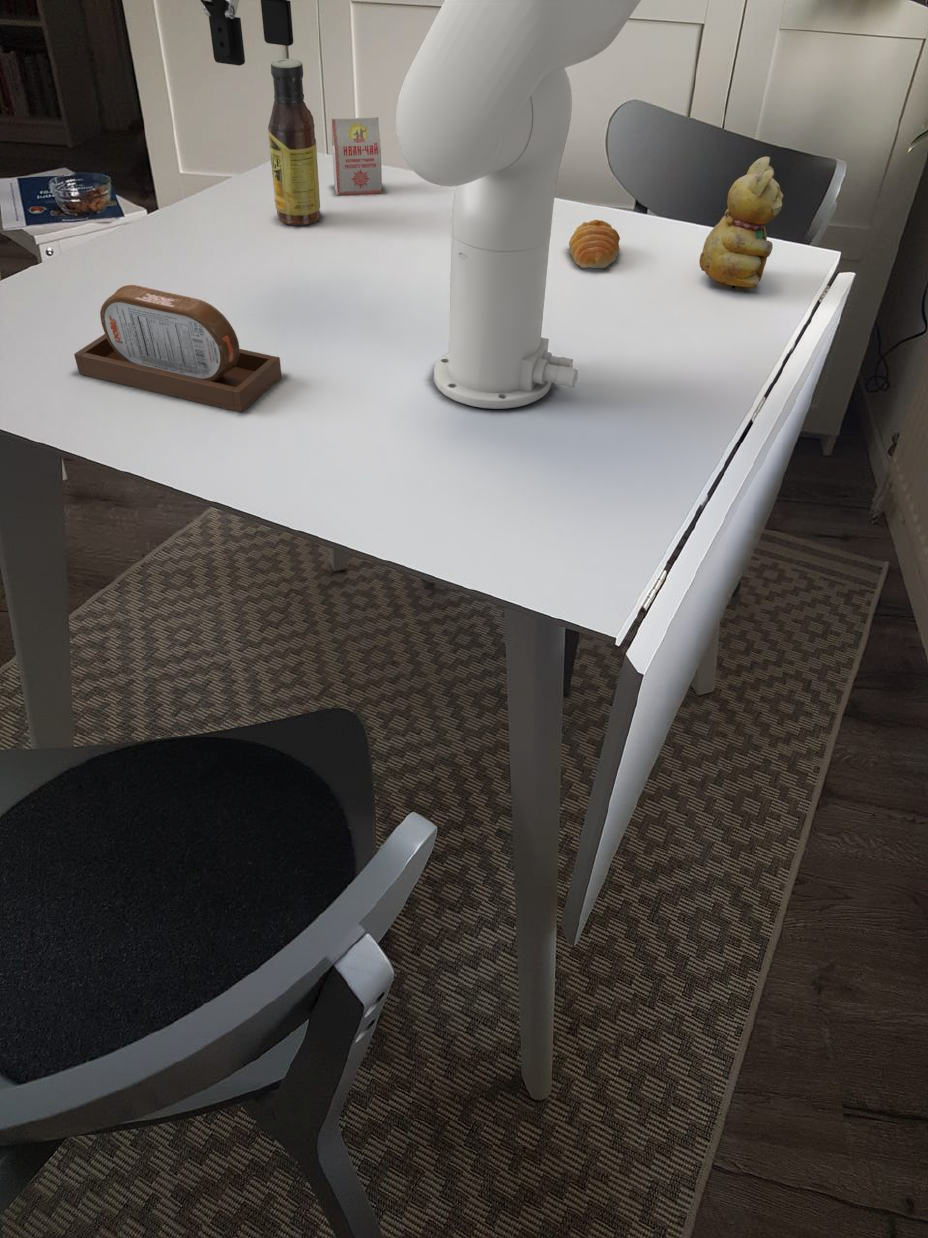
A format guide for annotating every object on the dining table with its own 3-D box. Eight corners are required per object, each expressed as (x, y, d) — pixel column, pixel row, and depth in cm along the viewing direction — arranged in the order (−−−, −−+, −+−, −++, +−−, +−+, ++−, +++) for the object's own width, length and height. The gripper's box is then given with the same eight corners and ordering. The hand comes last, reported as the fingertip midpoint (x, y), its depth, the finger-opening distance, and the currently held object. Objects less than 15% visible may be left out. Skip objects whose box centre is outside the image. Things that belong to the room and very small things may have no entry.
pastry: (619, 274, 124) (623, 245, 122) (567, 271, 125) (570, 242, 122) (617, 247, 131) (621, 218, 129) (568, 244, 131) (571, 216, 129)
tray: (282, 377, 101) (279, 357, 100) (242, 412, 95) (239, 392, 94) (125, 342, 106) (121, 322, 104) (79, 374, 100) (73, 353, 99)
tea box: (334, 186, 146) (330, 115, 139) (378, 184, 147) (376, 113, 140) (337, 194, 143) (333, 122, 137) (382, 192, 144) (380, 120, 138)
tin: (245, 380, 99) (235, 302, 94) (229, 393, 97) (217, 314, 92) (124, 352, 103) (106, 275, 98) (105, 364, 101) (87, 287, 95)
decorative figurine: (766, 300, 119) (798, 174, 109) (700, 296, 120) (725, 170, 110) (753, 270, 127) (782, 148, 117) (691, 266, 127) (714, 145, 117)
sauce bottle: (277, 211, 137) (262, 54, 124) (321, 211, 138) (310, 54, 125) (275, 228, 132) (259, 66, 119) (321, 228, 133) (310, 67, 120)
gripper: (246, -170, 93) (265, 33, 104) (140, -162, 81) (175, 67, 92) (315, -166, 91) (327, 40, 102) (217, -157, 79) (243, 76, 90)
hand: (255, 53), depth 97 cm, fingers open, 9 cm apart
